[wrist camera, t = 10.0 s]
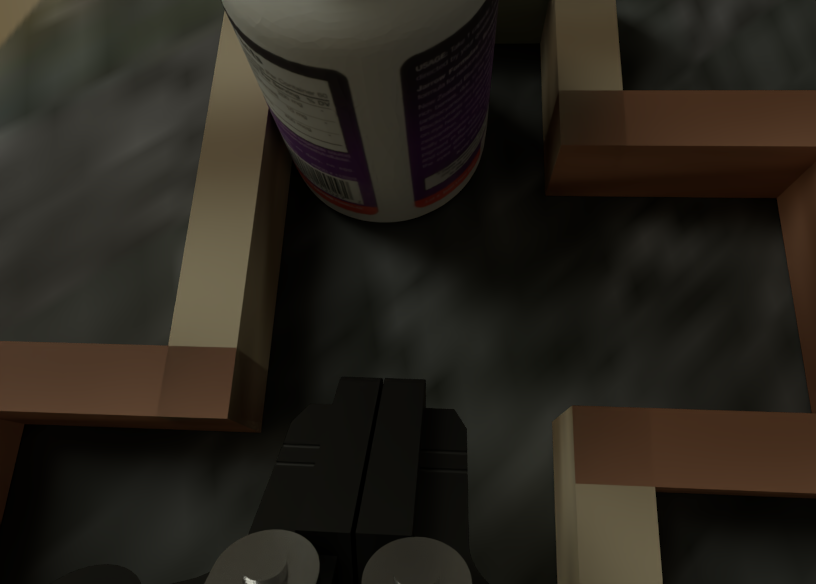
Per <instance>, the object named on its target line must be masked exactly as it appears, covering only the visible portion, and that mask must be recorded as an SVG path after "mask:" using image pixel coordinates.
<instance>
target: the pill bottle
mask: <svg viewBox="0 0 816 584" xmlns="http://www.w3.org/2000/svg"><path fill="white" fill-rule="evenodd" d="M221 2H222V4H223V7H224V10H225V12H226V14H227V16H228V18H229V20H230V23H231V25H232V27H233V29H234V31H235V33H236V36H237V38H238V40H239V42H240V44H241V47H242V49H243V51H244V53H245V55H246V58H247V60H248V62H249V64H250V67H251V69H252V71H253V73H254V75H255V78H256V80H257V82H258V85H259V87H260V89H261V91H262V93H263V95H264V98H265V100H266V103H267V105H268V107H269V109H270V111H271V114H272V116H273V118H274V120H275V122H276V124H277V127H278V129H279V131H280V133H281V135H282V137H283V139H284V142H285V144H286V147H287V149H288V151H289V153H290V155H291V157H292V160H293V162H294V164H295V166H296V168H297V169H298V171H299V173H300V175H301V177H302V178H303V180H304V182H305V183H306V184H307V186H308V187H309V188H310V190H311V191H312V192H313V193H314V194H315V195H316V196H317V197H318V198H319V199H320V200H321V201H323V202H324V203H325V204H326V205H328V206H329V207H331V208H332V209H334V210H336V211H337V212H340V213H342V214H344V215H347V216H349V217H352V218H356V219H359V220H364V221H370V222H399V221H405V220H410V219H413V218H417V217H420V216H422V215H425V214H427V213H429V212H432V211H434V210H436V209H437V208H439V207H441V206H443V205H444V204H445V203H447V202H448V201H450V200H451V199H452V198H453V197H454V196H456V195H457V194H458V193H459V192H460V191H461V190H462V189H463V188H464V186H465V185H466V184H467V183H468V181H469V180H470V178H471V177H472V175H473V174H474V172H475V170H476V168H477V166H478V164H479V161H480V159H481V155H482V152H483V148H484V143H485V136H486V129H487V120H488V109H489V98H490V88H491V76H492V66H493V56H494V46H495V35H496V24H497V14H498V3H499V0H221Z"/></svg>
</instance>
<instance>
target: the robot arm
mask: <svg viewBox="0 0 816 584" xmlns="http://www.w3.org/2000/svg"><path fill="white" fill-rule="evenodd" d="M51 584H141V582H140V580H139V579H138V577H137V576H136V575H135V574H134V573H133V572H132V571H130V570H128V569H127V568H125V567H121V566H118V565H110V564H103V565H94V566H88V567H85V568H82V569H78V570H76V571H73V572H71V573H69V574H67V575H65V576H63V577H61V578H59V579H57V580H56V581H54V582H52V583H51ZM172 584H489V583H488V582H487V581H486V580H485V579H484V578H483V577H482V576H481V574H480V573H479V572H478V570H477V569H476V567H475V565H474V563H473V561H472V558H471V555H470V550H469V525H468V474H467V428H466V427H465V425H464V424H463V422H462V421H461V419H460V418H459V416H458V414H457V413H456V411H455V410H454V409H435V408H426V380H424V379H396V378H385V380H384V384H383V379H382V378H364V377H341V379H340V381H339V384H338V388H337V391H336V394H335V398H334V401H333V404H332V405H328V404H309V405H308V406H307V407H306V408H305V409H304V410H303V411H302V412H301V413H300V414H299V415H298V416H297V417H296V418H295V419H294V420H293V421H292V422H291V424H290V427H289V429H288V432H287V435H286V437H285V440H284V443H283V447H282V448H281V450H280V453H279V456H278V458H277V463H276V466H274V469H273V471H272V474H271V477H270V479H269V482H268V484H267V487H266V490H265V492H264V495H263V497H262V500H261V503H260V505H259V508H258V511H257V513H256V516H255V518H254V521H253V524H252V526H251V529H250V531H249V534H248V535H247V536H245V537H243V538H241V539H239V540H238V541H236V542H235V543H233V544H232V545H230V546H229V547H228V548H227V549H226V550H225V551H224V552H223V553H222V554H221V555H220V556H219V558H218V559H217V561H216V562H215V564H214V566H213V568H212V570H211V571H210V572H209V573H207V574H204V575H202V576H199V577H196V578H193V579H189V580H186V581H181V582H177V583H172Z"/></svg>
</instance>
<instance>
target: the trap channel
mask: <svg viewBox="0 0 816 584" xmlns="http://www.w3.org/2000/svg"><path fill="white" fill-rule="evenodd" d="M531 43H540V52H541V84H542V115H543V147H544V178H545V196H611V197H705V198H777V203H778V210H779V216H780V222H781V228H782V234H783V240H784V246H785V252H786V258H787V265H788V271H789V277H790V283H791V289H792V295H793V301H794V307H795V313H796V320H797V326H798V332H799V338H800V344H801V350H802V356H803V362H804V368H805V374H806V381H807V387H808V393H809V399H810V405H811V411H812V413H785V412H754V411H723V410H692V409H662V408H631V407H600V406H571V407H570V408H569V409H567V410H566V411H565V412H564V413H562V414H561V415H560V416H559V417H558V418H556V419H555V420H554V421H553V422H552V429H553V460H554V492H555V523H556V555H557V584H663V579H662V567H661V554H660V542H659V530H658V517H657V505H656V493H655V492H669V493H693V494H717V495H742V496H766V497H790V498H814V499H816V90H623V86H622V73H621V61H620V49H619V37H618V24H617V12H616V0H499V3H498V14H497V24H496V35H495V44H531ZM291 166H292V157H291V155H290V153H289V151H288V149H287V147H286V144H285V142H284V139H283V137H282V135H281V133H280V131H279V129H278V127H277V124H276V122H275V120H274V118H273V116H272V114H271V111H270V109H269V107H268V105H267V103H266V100H265V98H264V95H263V93H262V91H261V89H260V87H259V85H258V82H257V80H256V78H255V75H254V73H253V71H252V69H251V67H250V64H249V62H248V60H247V58H246V55H245V53H244V51H243V49H242V47H241V44H240V42H239V40H238V38H237V36H236V33H235V31H234V29H233V27H232V25H231V23H230V20H229V18H228V16H227V14H226V12H224V18H223V24H222V30H221V36H220V42H219V48H218V54H217V60H216V66H215V72H214V78H213V83H212V89H211V95H210V101H209V107H208V113H207V119H206V125H205V131H204V137H203V143H202V149H201V155H200V161H199V166H198V172H197V178H196V184H195V190H194V196H193V202H192V208H191V214H190V220H189V226H188V232H187V238H186V244H185V249H184V255H183V261H182V267H181V273H180V279H179V285H178V291H177V297H176V303H175V309H174V315H173V321H172V327H171V332H170V338H169V344H168V346H158V345H122V344H85V343H49V342H12V341H0V526H1V522H2V518H3V514H4V509H5V505H6V501H7V497H8V492H9V488H10V484H11V479H12V475H13V471H14V467H15V462H16V458H17V454H18V450H19V445H20V441H21V437H22V433H23V428H24V424H37V425H64V426H92V427H119V428H146V429H174V430H201V431H228V432H256V433H261V428H262V419H263V410H264V402H265V393H266V384H267V375H268V367H269V358H270V349H271V341H272V332H273V323H274V314H275V306H276V297H277V288H278V280H279V271H280V262H281V253H282V245H283V236H284V227H285V219H286V210H287V201H288V192H289V184H290V175H291Z"/></svg>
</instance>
